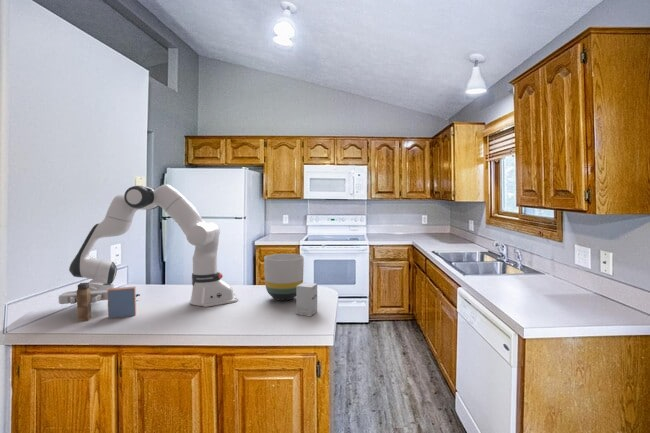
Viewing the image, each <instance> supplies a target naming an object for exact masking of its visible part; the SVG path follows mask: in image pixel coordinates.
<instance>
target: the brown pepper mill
mask: <svg viewBox="0 0 650 433" xmlns="http://www.w3.org/2000/svg"><path fill="white" fill-rule="evenodd" d="M89 282H90V281H88V282H80V283H79V284H77V290H76V291H77V303H76V310H77V311H76V312H77V323H81V322H88V321H89V320H90V319H91V318H92V309H91V308H92V303H91V298H90V287H89Z"/></svg>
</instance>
